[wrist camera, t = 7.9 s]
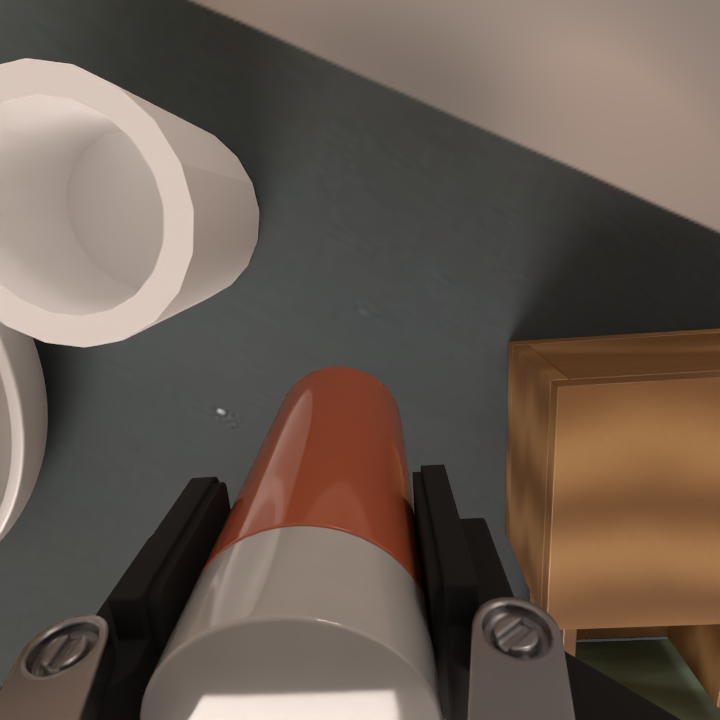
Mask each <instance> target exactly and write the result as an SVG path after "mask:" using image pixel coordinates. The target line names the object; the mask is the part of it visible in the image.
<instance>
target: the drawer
mask: <svg viewBox="0 0 720 720" xmlns="http://www.w3.org/2000/svg"><path fill="white" fill-rule="evenodd" d="M530 602H532V603H534V604H535V601H534V599H533V597H532V594H531V592H530ZM560 632H561V635H562V639H563V645H564V651H566V652H567V653H569V654H571V655H572V656H574V657H576V658H577V659H579V660H581V661H582V662H584V663H586V664H588V665H589V666H591V667H593V668H594V669H596V670H598V671H599V672H601V673H603V674H604V675H606V676H608V677H610V678H611V679H613V680H615V681H616V682H618V683H620V684H621V685H623V686H625V687H626V688H628V689H630V690H632V691H633V692H635V693H637V694H638V695H640V696H642V697H643V698H645V699H647V700H649V701H650V702H652V703H654V704H655V705H657V706H659V707H660V708H662V709H664V710H665V711H667V712H669V713H671V714H672V715H674V716H676V717H677V718H679V719H681V720H720V624H707V625H679V626H651V627H623V628H594V629H566V630H560ZM667 636H668V638H669V639H662V640H633V641H604V642H576V640H580V639H609V638H638V637H667Z"/></svg>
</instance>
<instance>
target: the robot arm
mask: <svg viewBox="0 0 720 720" xmlns="http://www.w3.org/2000/svg"><path fill="white" fill-rule="evenodd" d="M413 491H414V512H415V521H416V528H417V535H418V542H419V549H420V556H421V563H422V570H423V577H424V584H425V590H426V597H427V604H428V612H429V618H430V625H431V632H432V639H433V646H434V653H435V660H436V666H437V673H438V680H439V687H440V694H441V701H442V708H443V715H444V719H447V720H681V719H679V718H677V717H676V716H674V715H672V714H671V713H669V712H667V711H665V710H664V709H662V708H660V707H659V706H657V705H655V704H654V703H652V702H650V701H649V700H647V699H645V698H643V697H642V696H640V695H638V694H637V693H635V692H633V691H632V690H630V689H628V688H626V687H625V686H623V685H621V684H620V683H618V682H616V681H615V680H613V679H611V678H610V677H608V676H606V675H604V674H603V673H601V672H599V671H598V670H596V669H594V668H593V667H591V666H589V665H588V664H586V663H584V662H582V661H581V660H579V659H577V658H576V657H574V656H572V655H571V654H569V653H567V652H566V651H564V645H563V639H562V635H561V632H560V629H559V626H558V624H557V623H556V621H555V620H554V619H553V618H552V616H551V615H550V614H549V613H548V612H546V611H545V610H544V609H542V608H541V607H540V606H538V605H536V604H534V603H532V602H529V601H527V600H523V599H519V598H515V597H514V596H513V594H512V591H511V588H510V586H509V583H508V580H507V577H506V575H505V572H504V569H503V567H502V564H501V561H500V559H499V556H498V553H497V551H496V548H495V545H494V543H493V540H492V537H491V535H490V532H489V529H488V526H487V524H486V522H485V520H484V519H483V518H472V519H460V518H459V515H458V511H457V508H456V504H455V501H454V498H453V494H452V491H451V487H450V484H449V480H448V477H447V473H446V470H445V467H444V465H426V466H421V472H413ZM230 511H231V510H230V504H229V498H228V492H227V487H226V484H225V483H224V482H220V483H219V480H218V478H217V477H203V478H192V479H191V480H190V482H189V483H188V485H187V486H186V488H185V489H184V490H183V492H182V493H181V495H180V496H179V498H178V499H177V501H176V502H175V504H174V505H173V506H172V508H171V509H170V511H169V512H168V514H167V515H166V517H165V518H164V520H163V521H162V522H161V524H160V525H159V527H158V528H157V530H156V531H155V533H154V534H153V535H152V536H151V537H150V538H149V539H148V540H147V542H146V543H145V545H144V546H143V547H142V549H141V550H140V552H139V553H138V555H137V556H136V558H135V559H134V560H133V562H132V563H131V565H130V566H129V568H128V569H127V571H126V572H125V573H124V575H123V576H122V578H121V579H120V581H119V582H118V584H117V585H116V586H115V588H114V589H113V591H112V592H111V594H110V595H109V597H108V598H107V599H106V601H105V602H104V604H103V605H102V607H101V608H100V610H99V611H98V612H97V614H96V615H90V614H89V615H79V616H75V617H71V618H68V619H65V620H63V621H60V622H58V623H56V624H54V625H52V626H50V627H49V628H47V629H46V630H44V631H43V632H41V633H40V634H38V635H37V636H36V637H35V638H34V639H33V640H32V641H31V642H30V643H29V644H27V645H26V647H25V648H24V649H23V651H22V652H21V654H20V655H19V656H18V658H17V660H16V662H15V664H14V666H13V667H12V669H11V671H10V673H9V675H8V677H7V678H6V680H5V682H4V684H3V686H2V687H1V688H0V720H140V709H141V703H142V698H143V695H144V692H145V689H146V687H147V684H148V682H149V679H150V677H151V675H152V673H153V671H154V669H155V667H156V665H157V663H158V661H159V659H160V657H161V654H162V652H163V650H164V648H165V646H166V644H167V642H168V640H169V638H170V636H171V634H172V632H173V629H174V627H175V625H176V623H177V621H178V619H179V617H180V615H181V613H182V611H183V609H184V607H185V604H186V602H187V600H188V598H189V596H190V594H191V592H192V590H193V588H194V586H195V584H196V582H197V579H198V577H199V575H200V573H201V571H202V569H203V567H204V565H205V563H206V561H207V559H208V557H209V554H210V552H211V550H212V548H213V546H214V544H215V542H216V540H217V538H218V536H219V534H220V532H221V529H222V527H223V525H224V523H225V521H226V519H227V517H228V515H229V513H230Z"/></svg>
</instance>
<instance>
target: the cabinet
mask: <svg viewBox="0 0 720 720" xmlns="http://www.w3.org/2000/svg"><path fill="white" fill-rule="evenodd" d="M505 533H506V535H507V538H508V540H509V542H510V544H511V547H512V549H513V551H514V554H515V556H516V559H517V561H518V563H519V566H520V568H521V571H522V573H523V575H524V578H525V580H526V582H527V585H528V587H529V590H530V592H531V594H532V597H533V599H534V601H535V604H536V605H538V606H540V607H541V608H542V609H544V610H545V611H546V612H548V613H549V614H550V615H551V616H552V618H553V619H554V620H555V621H556V623H557V624H558V626H559V629H560V630H566V629H594V628H623V627H651V626H679V625H707V624H720V328H718V329H702V330H686V331H669V332H653V333H637V334H621V335H605V336H589V337H573V338H556V339H540V340H524V341H509V344H508V406H507V467H506V529H505Z"/></svg>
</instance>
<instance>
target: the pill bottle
mask: <svg viewBox="0 0 720 720" xmlns="http://www.w3.org/2000/svg"><path fill="white" fill-rule="evenodd" d="M140 720H444V715H443V708H442V701H441V694H440V687H439V680H438V673H437V666H436V660H435V653H434V646H433V639H432V632H431V625H430V618H429V612H428V604H427V597H426V590H425V584H424V577H423V570H422V563H421V556H420V549H419V542H418V535H417V528H416V521H415V514H414V508H413V501H412V494H411V487H410V480H409V473H408V466H407V459H406V452H405V445H404V438H403V431H402V425H401V418H400V412H399V409H398V406H397V403H396V401H395V399H394V397H393V396H392V394H391V393H390V391H389V390H388V389H387V388H386V387H385V386H384V385H383V384H382V383H381V382H380V381H379V380H377V379H376V378H375V377H373V376H371V375H369V374H368V373H365V372H363V371H360V370H357V369H353V368H348V367H329V368H324V369H320V370H317V371H314V372H312V373H310V374H308V375H306V376H305V377H303V378H302V379H300V380H299V381H298V382H297V383H296V384H295V385H294V386H293V387H292V388H291V389H290V390H289V392H288V393H287V395H286V397H285V398H284V400H283V402H282V404H281V407H280V409H279V411H278V413H277V415H276V417H275V419H274V421H273V423H272V425H271V427H270V429H269V432H268V434H267V436H266V438H265V440H264V442H263V444H262V446H261V448H260V450H259V452H258V454H257V457H256V459H255V461H254V463H253V465H252V467H251V469H250V471H249V473H248V475H247V477H246V479H245V482H244V484H243V486H242V488H241V490H240V492H239V494H238V496H237V498H236V500H235V502H234V504H233V507H232V509H231V511H230V513H229V515H228V517H227V519H226V521H225V523H224V525H223V527H222V529H221V532H220V534H219V536H218V538H217V540H216V542H215V544H214V546H213V548H212V550H211V552H210V554H209V557H208V559H207V561H206V563H205V565H204V567H203V569H202V571H201V573H200V575H199V577H198V579H197V582H196V584H195V586H194V588H193V590H192V592H191V594H190V596H189V598H188V600H187V602H186V604H185V607H184V609H183V611H182V613H181V615H180V617H179V619H178V621H177V623H176V625H175V627H174V629H173V632H172V634H171V636H170V638H169V640H168V642H167V644H166V646H165V648H164V650H163V652H162V654H161V657H160V659H159V661H158V663H157V665H156V667H155V669H154V671H153V673H152V675H151V677H150V679H149V682H148V684H147V687H146V689H145V692H144V695H143V698H142V703H141V709H140Z"/></svg>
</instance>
